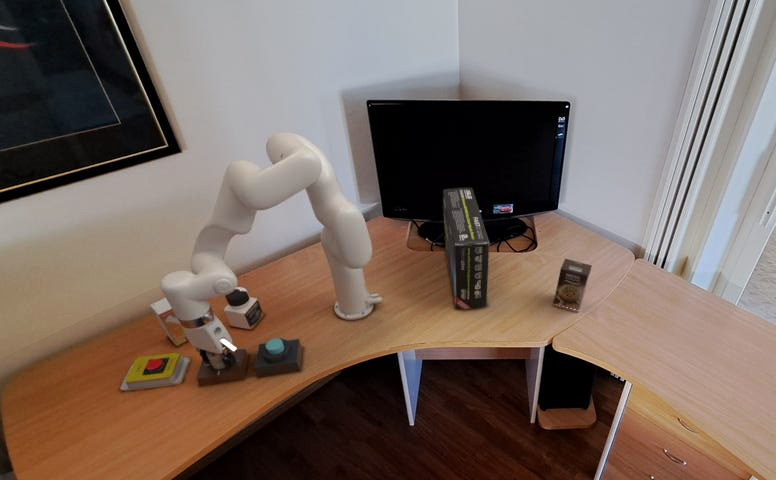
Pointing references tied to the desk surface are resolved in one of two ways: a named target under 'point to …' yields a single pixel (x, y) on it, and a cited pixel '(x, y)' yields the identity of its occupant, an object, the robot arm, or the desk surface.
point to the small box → (169, 321)
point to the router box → (466, 248)
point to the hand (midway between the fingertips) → (220, 362)
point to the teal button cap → (275, 346)
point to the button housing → (279, 359)
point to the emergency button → (155, 371)
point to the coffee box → (572, 285)
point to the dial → (216, 359)
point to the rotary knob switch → (223, 370)
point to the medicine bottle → (242, 309)
